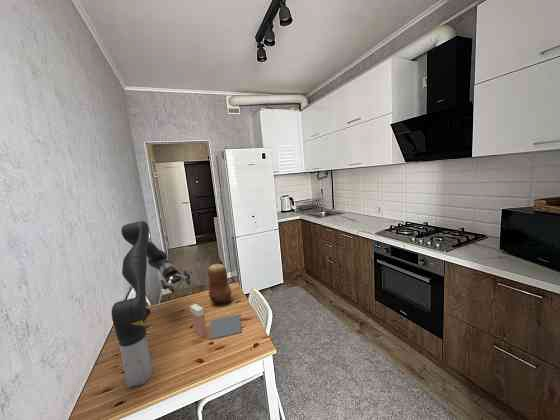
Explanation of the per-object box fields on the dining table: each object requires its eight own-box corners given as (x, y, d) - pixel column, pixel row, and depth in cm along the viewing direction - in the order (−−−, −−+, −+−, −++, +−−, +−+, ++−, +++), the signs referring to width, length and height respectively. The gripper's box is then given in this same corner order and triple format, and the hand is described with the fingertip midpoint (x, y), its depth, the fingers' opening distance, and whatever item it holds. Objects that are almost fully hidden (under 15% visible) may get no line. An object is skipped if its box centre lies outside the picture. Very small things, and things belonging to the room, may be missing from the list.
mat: (241, 332, 114) (241, 331, 114) (208, 340, 111) (208, 339, 111) (240, 315, 130) (239, 314, 129) (211, 321, 126) (211, 320, 126)
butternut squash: (232, 295, 153) (228, 260, 150) (231, 305, 140) (226, 267, 137) (211, 298, 151) (206, 263, 148) (208, 309, 138) (203, 270, 135)
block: (198, 328, 121) (195, 303, 119) (206, 333, 116) (203, 308, 114) (193, 331, 119) (189, 306, 117) (201, 337, 114) (197, 311, 112)
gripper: (154, 271, 124) (167, 287, 114) (180, 261, 134) (194, 275, 124) (156, 282, 127) (168, 298, 117) (181, 272, 137) (194, 286, 127)
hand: (181, 286), depth 121 cm, fingers open, 8 cm apart
